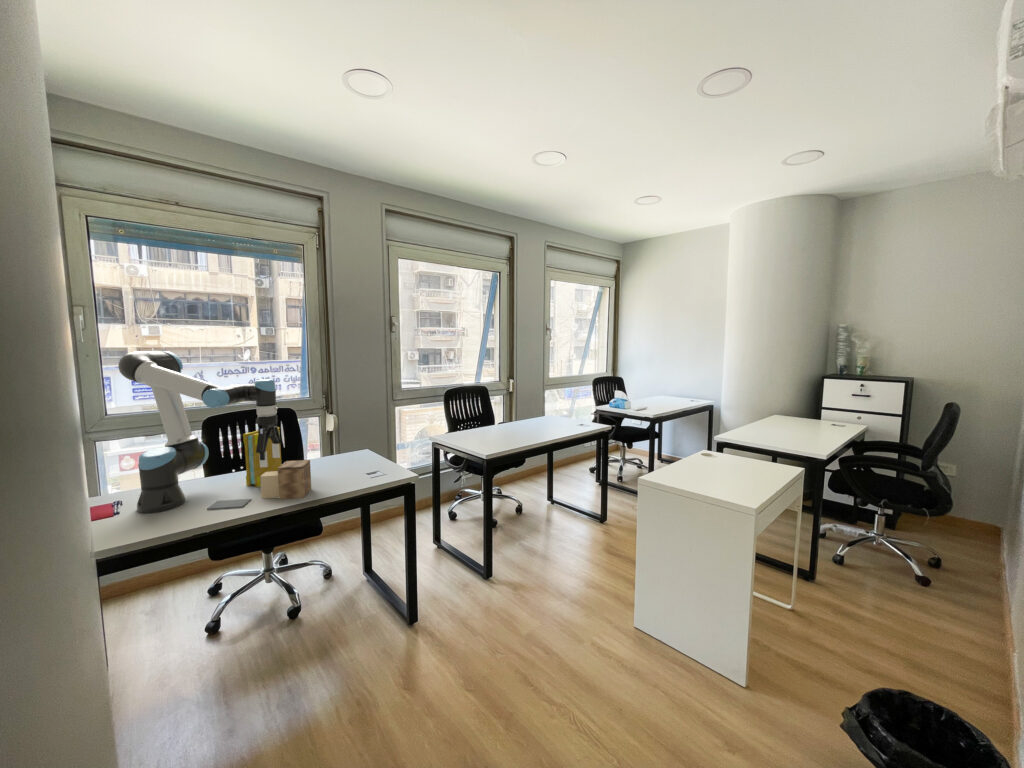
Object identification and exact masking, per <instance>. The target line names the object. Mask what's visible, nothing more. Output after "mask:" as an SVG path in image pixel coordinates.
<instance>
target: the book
mask: <svg viewBox="0 0 1024 768" xmlns="http://www.w3.org/2000/svg"><path fill="white" fill-rule="evenodd" d="M277 428H278V431H279V434H280V435H281V431H280V426H277ZM242 437H243V438H242V439H243V445H244V457H245V469H246V470H245V471H246V476H245V483H246V486H247V487H251V486H253V485H254V486H255V487H256V488H259V487H261V481H260V476H261V475H262V474H264V473H265V472H271V471H278V467H280V466H281V465H282V450H281V448H282V447H281V443H278V444H279V452H280V458H273V453H272V444H274V443H273V442H272V440H271V439H270V438H269V439H268V443H267V447H266V452H267V463H268V467H260V459H259V453H256V449H257V441H258V430H255V431H252V432H251V431H250V432H246V433H243V434H242Z"/></svg>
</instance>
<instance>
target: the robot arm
mask: <svg viewBox="0 0 1024 768" xmlns="http://www.w3.org/2000/svg"><path fill="white" fill-rule="evenodd" d="M183 367H184V364H183V362H182V360H181V358H180V357H179V355H177V354H175V353H174V352H172V351H167V350H166V351H165V350H164V351H163V350H151V351H150V350H147V351H146V350H145V351H131V352H129V353H126V354H125V355H123V356H122V357H121V358H120V360H119V362H118V367H117V368H118V371H119V373H120V374H121V375H122V376H123V377H124V378H125V379H127V380H129V381H132V382H135V383H138V384H140V385H141V384H142V385H145V386H147V387H150V388H151V390H152V393H153V397H154V400H155V403H156V407H157V409H158V412H159V416H160V419H161V423H162V426H163V429H164V432H165V436H166V439H167V441H166V443H165V444H164V446H163V447H157V448H153V449H152V448H151V449H150V450H146V451H144V452H142V453H141V454H140V456H139V457H138V465H137V466H138V471H139V473H138V474H139V480H140V490H141V491H140V494H139V497H138V501H137V504H136V511H137V513H141V514H153V513H159V512H164V511H165V512H166V511H169V510H172V509H175V508H177V507H180V506H181V505H183V504H184V503H185V502H186V495H185V493H184V492H183V490H182V488H181V486H180V485H179V475H181V474H184V473H187V472H189V471H191V470H195V469H197V468H199V467H201V466H203V465H204V464H206V461H207V460H208V458H209V448H208V446H207V445H206V444H205V443H204V442H203V441H199V438H198V436H195V435H194V434H193V433H192V429H191V426H190V425H191V424H190V422H189V419H188V415H187V413H186V409H185V406H184V403H183V400H182V396H181V395H183V396H186V397H189V398H192V399H195V400H199V401H202V402H203V404H204V405H206V407H208V408H210V409H214V408H215V409H216V408H222V407H226V406H231V405H234V404H239V403H244V402H251V403H253V402H254V403H256V405H255V408H256V409H255V410H256V415H257V417H256V422H257V425H259V426H261V428H258V429H257V431H258V441H257V449H256V453H259V459H260V467H268V463H267V452H266V447H267V443H268V439H269V438H270V439H271V440H272V442H273V443H274V444H272V453H273V458H280V452H279V444H278V443H280V444H282V438H281V433H280V434H279V431H278V428H277V427H278V415H277V413H278V409H279V408H278V407H277V392H276V391H277V389H276V383H275V380H274V379H270V378H269V379H268V378H267V379H258V380H257V379H256V380H255V381H254V384H250V383H248V384H243V383H241V384H240V383H237V384H235V383H234V384H233V383H232V384H229V385H227V386H220V385H216V384H213V383H211V382H207V381H204V380H201V379H198V378H195V377H192V376H190V375H187V374H183V373H182V370H183Z"/></svg>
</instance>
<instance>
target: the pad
mask: <svg viewBox="0 0 1024 768" xmlns="http://www.w3.org/2000/svg"><path fill="white" fill-rule="evenodd" d="M251 501H252V498H242V499H240V498H239V499H238V498H237V499H221V500H216V501H214V503H212V504H211V505H210V506H209V507H207V508H206V509H207V510H208V511H209V510H222V509H223V510H228V509H240V508H241V509H242V508H244V507H246V506H247V504H249V503H250V502H251Z"/></svg>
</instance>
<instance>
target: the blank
mask: <svg viewBox="0 0 1024 768" xmlns="http://www.w3.org/2000/svg"><path fill="white" fill-rule="evenodd" d="M260 481H261V486H260V492H261V493H260V495H261V499H270V498H271V499H274V498H275V499H276V498H279V482H278V471H271V472H265V473H264V474H262V475H261V476H260Z"/></svg>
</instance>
